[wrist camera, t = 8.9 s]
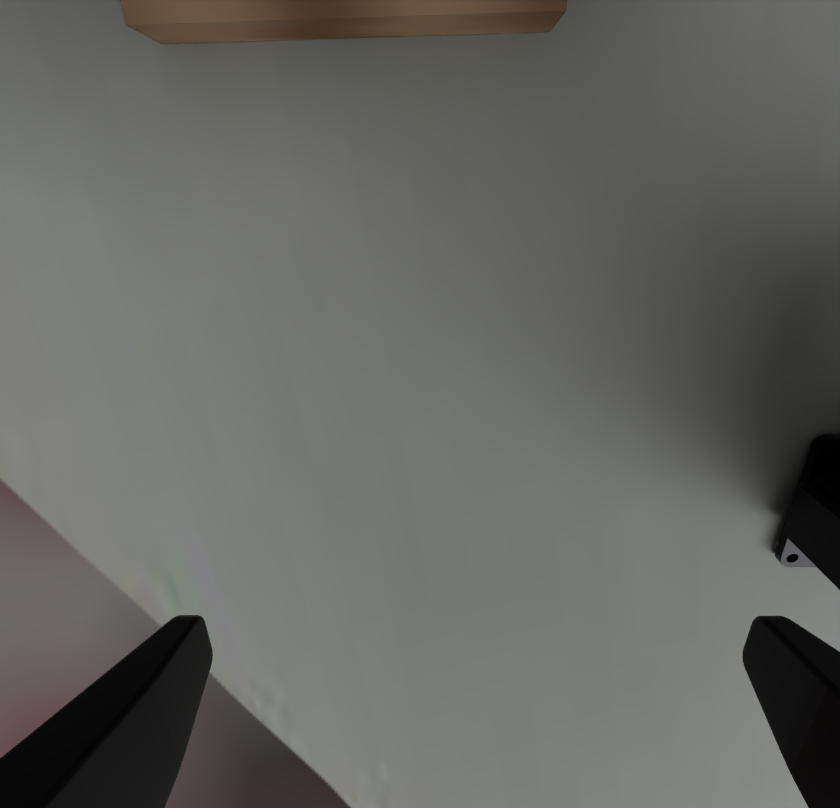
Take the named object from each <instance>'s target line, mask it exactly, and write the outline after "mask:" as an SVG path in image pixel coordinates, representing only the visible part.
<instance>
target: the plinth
mask: <svg viewBox="0 0 840 808" xmlns="http://www.w3.org/2000/svg"><path fill="white" fill-rule="evenodd" d="M120 1H121V6H122V11H123V16H124V20H125V25H126V26H128V27H130V28H132V29H134V30H136V31H138V32H140V33H142V34H144V35H145V36H147V37H149V38H151V39H153V40H155V41H157V42H159V43H161V44H179V43H211V42H243V41H274V40H306V39H338V38H370V37H401V36H433V35H465V34H496V33H528V32H550V31H551V30H552V28H553V27H554V26H555V25H556V23H557V22H558V21H559V19H560V18H561V17H562V15H563V14H564V13H565V12H566V7H567V0H120Z"/></svg>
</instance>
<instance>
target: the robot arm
mask: <svg viewBox="0 0 840 808" xmlns="http://www.w3.org/2000/svg"><path fill="white" fill-rule="evenodd" d="M828 445H830V446H829V447H828V448H827V449H826V450H824V449H825V448H826V447H827V446H828ZM790 554H791V555H790ZM775 556H776V558H777V559H778V560H779V562H780V563H781V564H782V565H784V566H786V567H817V568H818V569H819V570H820V571H821V572H822V573H823V574H824V575H825V576H826V577H827V578H828V579H829V580H830V581H831V582H832V583H833V584H834V585H835V586H836V587H837V588H838V589H839V590H840V434H825V435H821V436H819V437H817V438H816V439H815V440H814V441H813V443H812V444H811V447H810V450H809V453H808V456H807V459H806V462H805V465H804V468H803V471H802V474H801V477H800V480H799V483H798V486H797V489H796V492H795V495H794V498H793V501H792V504H791V507H790V510H789V513H788V516H787V519H786V522H785V525H784V528H783V531H782V534H781V537H780V540H779V543H778V546H777V549H776V552H775ZM212 656H213V654H212V647H211V643H210V639H209V635H208V632H207V628H206V624H205V621H204V619H203V618H202V617H201V616H199V615H179V616H176V617H174V618H173V619H171V620H170V621H169V622H167V623H166V624H165V625H164V626H163V627H161V628H160V629H159V630H158V631H157V632H155V633H154V634H153V635H151V636H150V637H149V638H148V639H147V640H145V641H144V642H143V643H142V644H140V645H139V646H138V647H137V648H135V649H134V650H133V651H132V652H131V653H130V654H128V655H127V656H126V657H124V658H123V659H122V660H121V661H119V662H118V663H117V664H116V665H115V666H113V667H112V668H111V669H110V670H108V671H107V672H106V673H105V674H104V675H102V676H101V677H100V678H99V679H97V680H96V681H95V682H94V683H92V684H91V685H90V686H89V687H88V688H86V689H85V690H84V691H83V692H81V693H80V694H79V695H78V696H77V697H75V698H74V699H73V700H71V701H70V702H69V703H68V704H67V705H65V706H64V707H63V708H62V709H60V710H59V711H58V712H57V713H56V714H54V715H53V716H52V717H51V718H49V719H48V720H47V721H46V722H44V723H43V724H42V725H41V726H40V727H38V728H37V729H36V730H35V731H33V732H32V733H31V734H30V735H29V736H27V737H26V738H25V739H24V740H22V741H21V742H20V743H19V744H17V745H16V746H15V747H14V748H13V749H11V750H10V751H9V752H8V753H6V754H5V755H4V756H3V757H1V758H0V808H165V805H166V803H167V800H168V798H169V796H170V793H171V791H172V788H173V786H174V783H175V780H176V778H177V775H178V772H179V770H180V767H181V764H182V761H183V758H184V755H185V752H186V748H187V745H188V742H189V738H190V735H191V731H192V728H193V725H194V722H195V718H196V715H197V711H198V708H199V705H200V701H201V698H202V695H203V691H204V688H205V684H206V681H207V678H208V674H209V671H210V668H211V664H212ZM743 663H744V666H745V669H746V672H747V674H748V676H749V679H750V681H751V683H752V686H753V688H754V690H755V693H756V695H757V697H758V700H759V702H760V704H761V707H762V709H763V711H764V714H765V716H766V718H767V721H768V723H769V725H770V728H771V730H772V732H773V735H774V737H775V739H776V742H777V744H778V746H779V749H780V751H781V753H782V756H783V758H784V760H785V762H786V764H787V766H788V769H789V771H790V773H791V775H792V777H793V779H794V781H795V783H796V785H797V787H798V789H799V790H800V792H801V794H802V796H803V798H804V800H805V802H806V804H807V805H808V807H809V808H840V652H839V651H837V650H836V649H834V648H833V647H831V646H830V645H828V644H827V643H825V642H824V641H822V640H821V639H819V638H818V637H816V636H814V635H813V634H811V633H810V632H808V631H807V630H805V629H804V628H802V627H801V626H799V625H798V624H796V623H795V622H793V621H791V620H790V619H788V618H786V617H783V616H758V617H756V618H755V619H754V620H753V622H752V625H751V628H750V631H749V634H748V637H747V640H746V643H745V646H744V649H743Z"/></svg>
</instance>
